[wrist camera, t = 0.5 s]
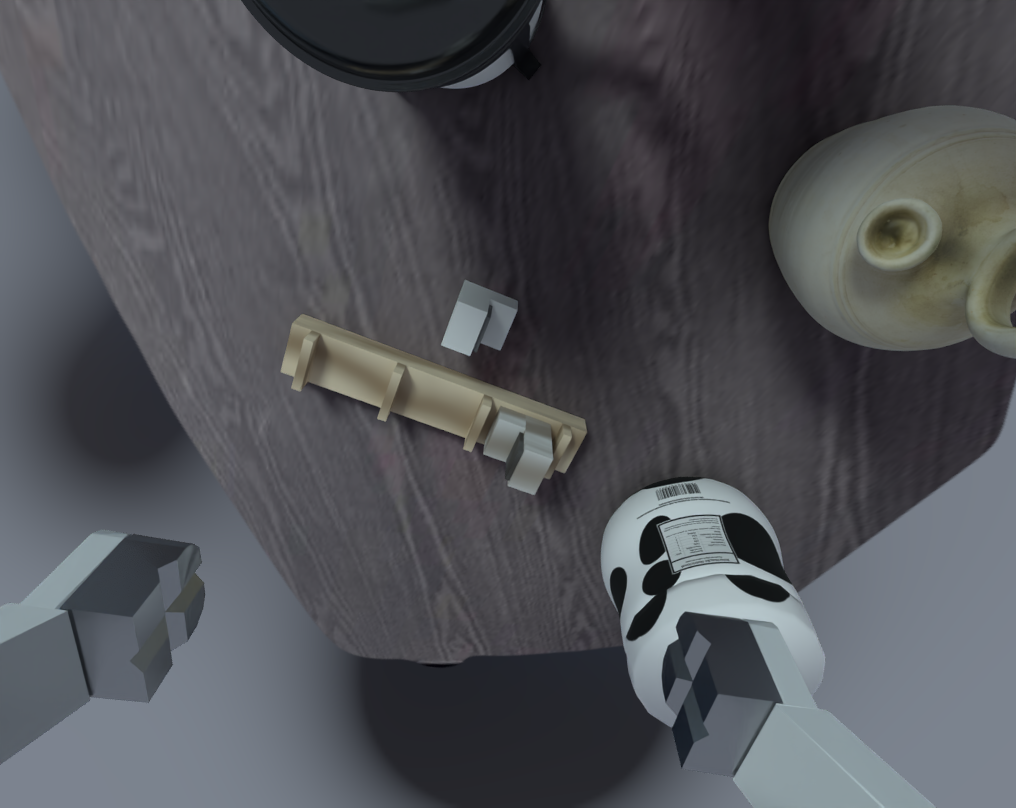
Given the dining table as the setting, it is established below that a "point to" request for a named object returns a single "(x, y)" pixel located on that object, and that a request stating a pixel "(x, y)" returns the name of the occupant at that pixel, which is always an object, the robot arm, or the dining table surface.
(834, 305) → the jug
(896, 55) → the dining table surface
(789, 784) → the robot arm
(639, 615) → the milk container
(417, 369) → the rail
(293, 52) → the coffee press
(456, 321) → the grey block
